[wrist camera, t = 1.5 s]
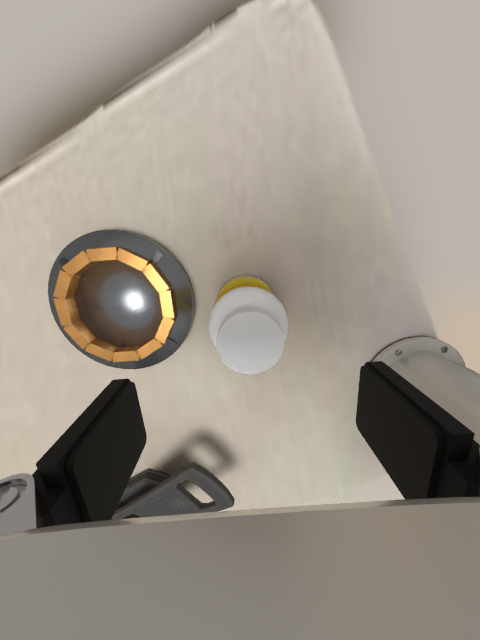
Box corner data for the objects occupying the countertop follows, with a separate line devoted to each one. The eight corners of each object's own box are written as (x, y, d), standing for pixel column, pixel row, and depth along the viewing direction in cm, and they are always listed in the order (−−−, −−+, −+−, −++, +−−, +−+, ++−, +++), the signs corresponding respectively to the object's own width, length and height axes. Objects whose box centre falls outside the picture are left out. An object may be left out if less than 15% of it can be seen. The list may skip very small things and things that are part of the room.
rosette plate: (185, 225, 26) (178, 222, 23) (201, 359, 31) (197, 370, 28) (40, 236, 26) (15, 234, 23) (78, 367, 31) (61, 379, 28)
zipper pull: (242, 507, 29) (103, 590, 34) (241, 461, 36) (125, 535, 40) (192, 462, 27) (52, 557, 32) (201, 422, 34) (83, 505, 38)
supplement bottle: (207, 290, 28) (182, 322, 16) (258, 264, 27) (274, 277, 15) (233, 337, 30) (229, 400, 18) (281, 314, 29) (313, 364, 17)
